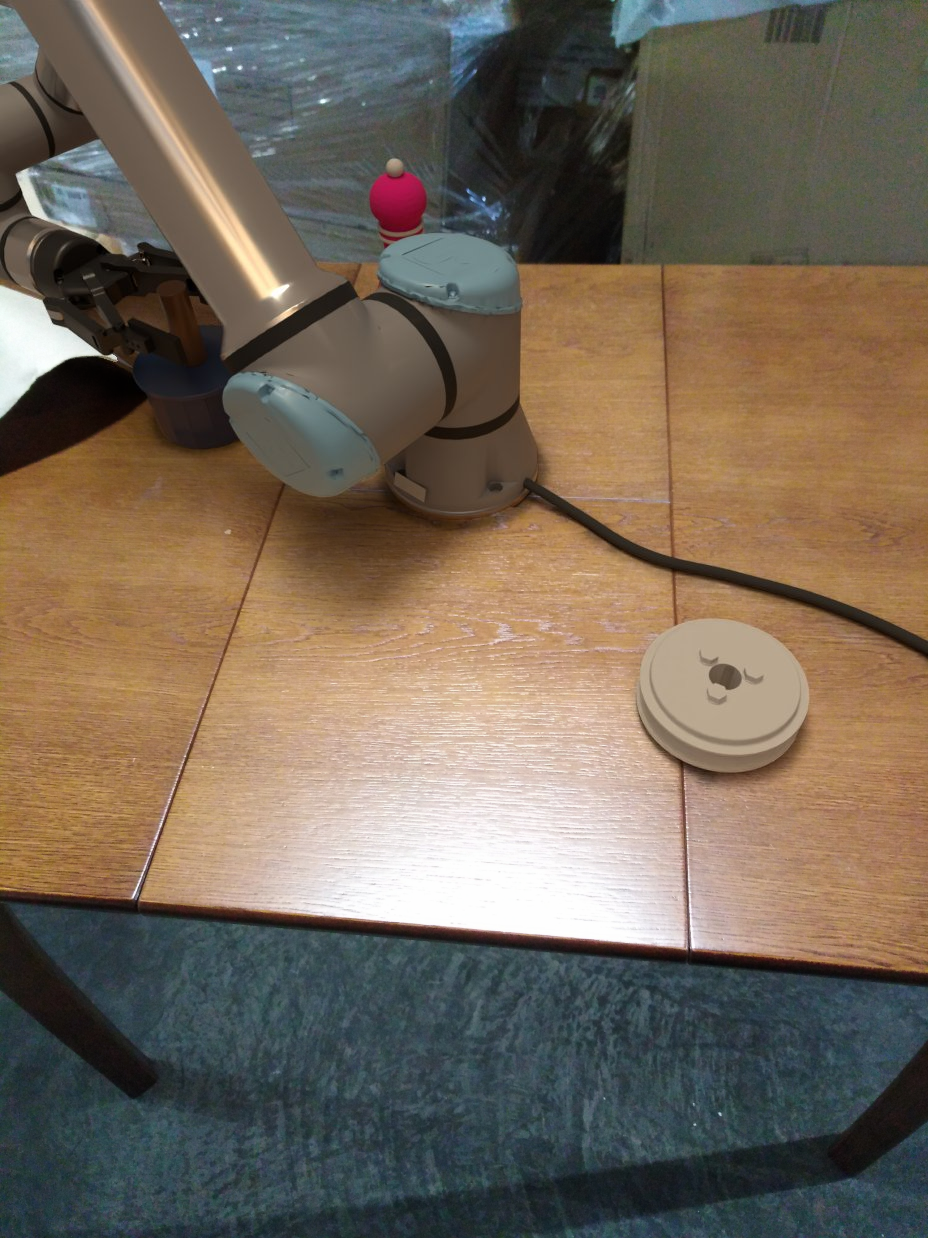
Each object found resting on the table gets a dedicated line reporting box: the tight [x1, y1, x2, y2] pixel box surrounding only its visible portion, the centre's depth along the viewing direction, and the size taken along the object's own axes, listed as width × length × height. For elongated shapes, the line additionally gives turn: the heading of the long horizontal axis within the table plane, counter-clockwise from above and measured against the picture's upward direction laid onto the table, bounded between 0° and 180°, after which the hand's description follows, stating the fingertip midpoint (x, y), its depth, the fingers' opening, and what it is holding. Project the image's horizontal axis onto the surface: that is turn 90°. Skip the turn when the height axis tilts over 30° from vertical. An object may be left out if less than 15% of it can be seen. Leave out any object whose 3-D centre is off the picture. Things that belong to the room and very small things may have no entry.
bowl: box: [145, 393, 240, 450], centre depth 95 cm, size 11×11×6 cm
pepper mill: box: [368, 158, 428, 289], centre depth 98 cm, size 7×7×20 cm
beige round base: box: [635, 617, 810, 773], centre depth 69 cm, size 13×13×5 cm
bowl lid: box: [131, 280, 232, 402], centre depth 89 cm, size 13×13×9 cm
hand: (214, 328), depth 86 cm, fingers open, 8 cm apart
